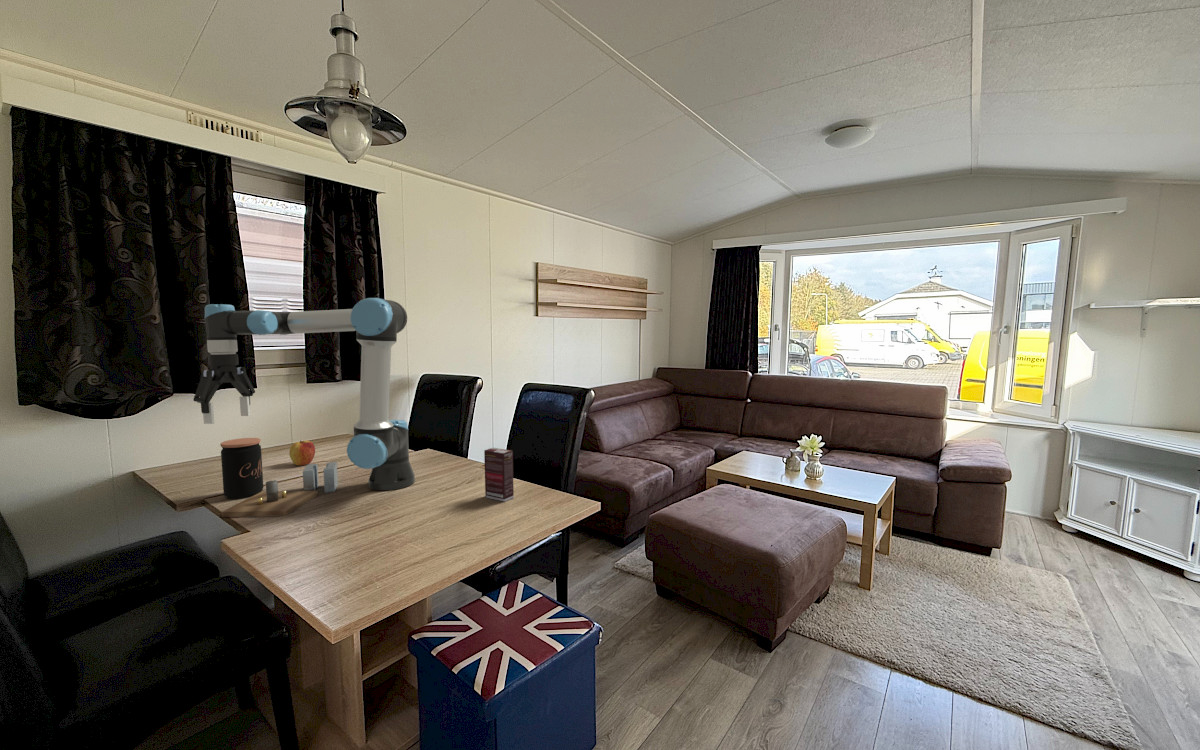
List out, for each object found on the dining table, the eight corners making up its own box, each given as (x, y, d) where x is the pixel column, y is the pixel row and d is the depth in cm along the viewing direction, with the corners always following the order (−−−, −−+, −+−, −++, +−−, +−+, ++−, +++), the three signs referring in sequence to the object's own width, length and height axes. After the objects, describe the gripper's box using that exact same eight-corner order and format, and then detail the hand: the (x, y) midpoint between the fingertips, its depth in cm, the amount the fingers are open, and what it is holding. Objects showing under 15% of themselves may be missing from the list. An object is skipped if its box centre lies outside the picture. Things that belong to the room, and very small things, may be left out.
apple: (306, 467, 190) (305, 443, 189) (284, 467, 190) (282, 443, 189) (320, 461, 199) (319, 438, 198) (299, 461, 199) (297, 438, 199)
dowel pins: (285, 496, 153) (284, 490, 152) (287, 496, 152) (287, 490, 152) (257, 504, 145) (256, 498, 145) (259, 505, 145) (259, 498, 145)
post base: (318, 495, 158) (316, 473, 158) (285, 515, 140) (283, 491, 140) (262, 495, 157) (260, 473, 157) (221, 516, 139) (219, 491, 139)
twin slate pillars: (337, 483, 170) (336, 461, 169) (334, 491, 162) (333, 468, 161) (308, 487, 167) (307, 464, 166) (303, 495, 158) (302, 471, 158)
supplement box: (514, 497, 156) (513, 450, 155) (504, 502, 152) (503, 453, 151) (494, 493, 160) (493, 447, 159) (484, 497, 156) (483, 450, 155)
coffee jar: (242, 500, 153) (239, 445, 151) (215, 498, 155) (211, 444, 153) (271, 490, 163) (268, 438, 162) (245, 488, 165) (242, 437, 164)
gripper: (244, 351, 164) (248, 412, 166) (173, 355, 139) (180, 427, 141) (264, 351, 163) (269, 413, 165) (197, 355, 139) (203, 427, 141)
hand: (228, 419), depth 153 cm, fingers open, 13 cm apart
